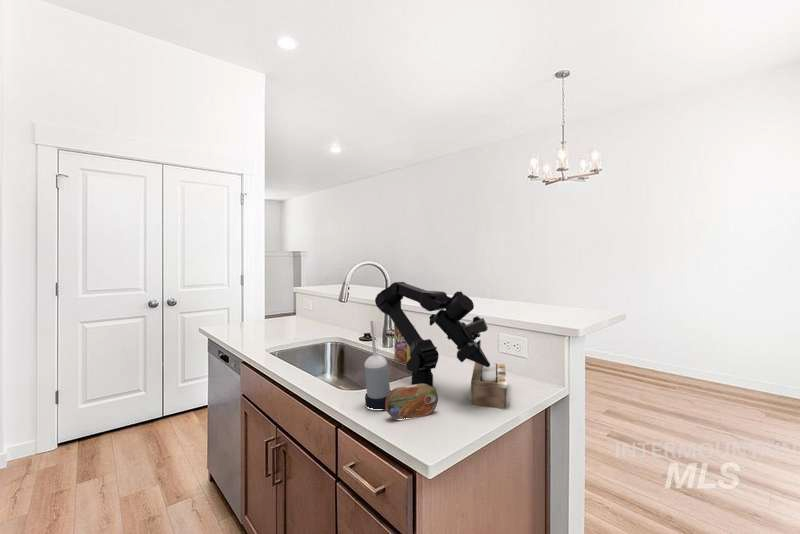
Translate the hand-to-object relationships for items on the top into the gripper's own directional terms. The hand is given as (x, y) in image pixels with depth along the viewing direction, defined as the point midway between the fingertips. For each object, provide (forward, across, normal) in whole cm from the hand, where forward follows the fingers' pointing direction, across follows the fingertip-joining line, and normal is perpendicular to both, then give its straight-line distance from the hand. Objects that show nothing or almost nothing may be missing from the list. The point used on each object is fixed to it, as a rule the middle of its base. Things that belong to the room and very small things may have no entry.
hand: (489, 366), depth 112 cm
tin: (-6, -15, +22) cm, 28 cm away
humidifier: (-14, -11, +29) cm, 34 cm away
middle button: (+4, +7, +4) cm, 9 cm away
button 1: (+4, 0, +4) cm, 6 cm away
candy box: (-16, +34, +32) cm, 50 cm away
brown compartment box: (+8, +6, +8) cm, 13 cm away
